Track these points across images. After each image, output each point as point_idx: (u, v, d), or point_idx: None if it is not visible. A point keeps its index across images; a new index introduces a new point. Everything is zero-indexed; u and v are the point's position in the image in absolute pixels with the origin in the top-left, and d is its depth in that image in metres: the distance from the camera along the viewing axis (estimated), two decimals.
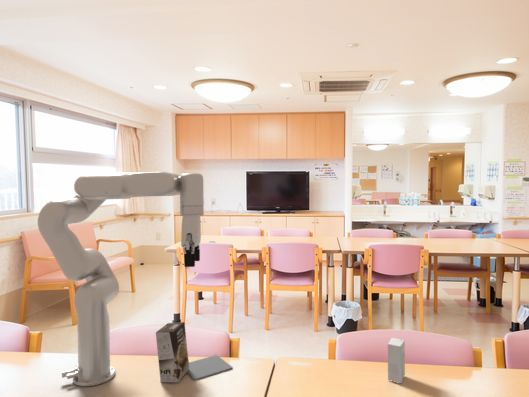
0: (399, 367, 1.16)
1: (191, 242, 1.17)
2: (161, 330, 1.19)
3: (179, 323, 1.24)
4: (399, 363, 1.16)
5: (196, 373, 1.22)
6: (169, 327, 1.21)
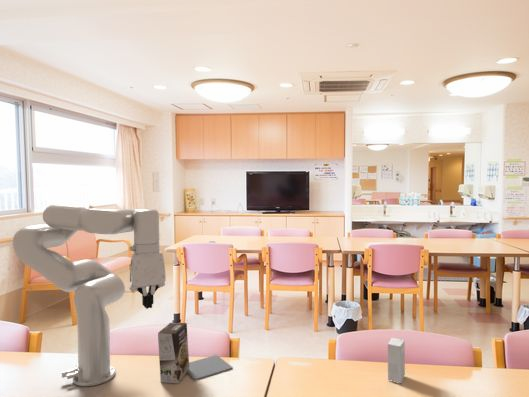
0: (399, 367, 1.16)
1: None
2: (163, 331, 1.18)
3: (182, 323, 1.24)
4: (399, 363, 1.16)
5: (196, 373, 1.22)
6: (171, 328, 1.20)
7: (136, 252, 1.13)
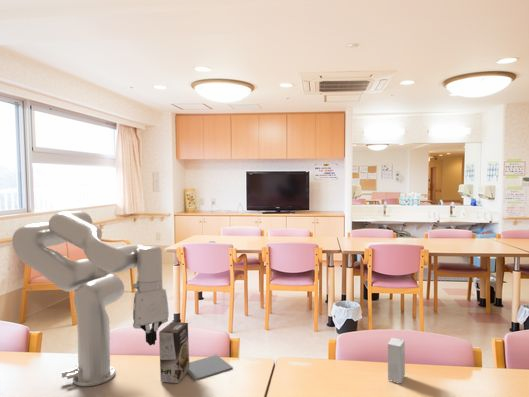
0: (399, 367, 1.16)
1: None
2: (164, 330, 1.18)
3: (183, 323, 1.24)
4: (399, 363, 1.16)
5: (196, 373, 1.22)
6: (172, 327, 1.20)
7: (139, 290, 1.13)
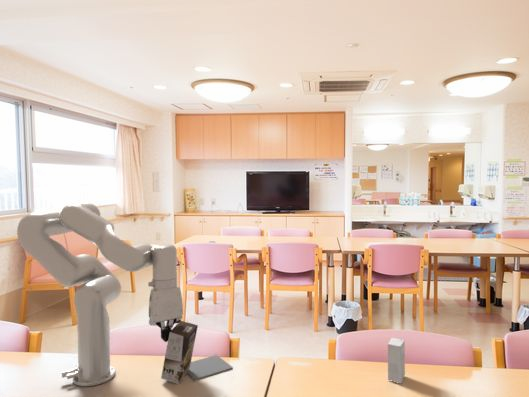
0: (399, 367, 1.16)
1: None
2: (175, 330, 1.17)
3: (193, 325, 1.22)
4: (399, 363, 1.16)
5: (196, 373, 1.22)
6: (183, 329, 1.19)
7: (155, 288, 1.16)
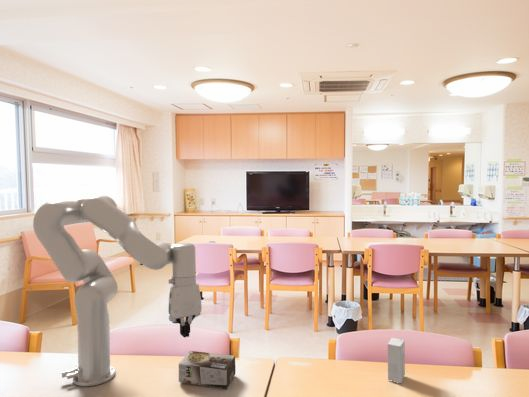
0: (399, 367, 1.16)
1: None
2: (228, 371, 1.14)
3: (234, 371, 1.21)
4: (399, 363, 1.16)
5: None
6: (231, 373, 1.16)
7: (175, 285, 1.20)
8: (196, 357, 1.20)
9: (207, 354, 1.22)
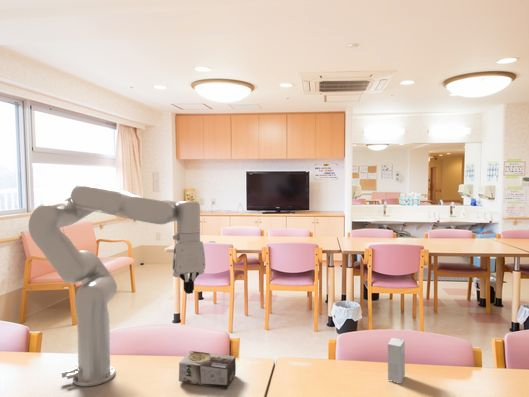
0: (399, 367, 1.16)
1: None
2: (228, 371, 1.14)
3: (234, 372, 1.21)
4: (399, 363, 1.16)
5: None
6: (231, 373, 1.17)
7: (179, 241, 1.20)
8: (196, 357, 1.20)
9: (208, 354, 1.22)
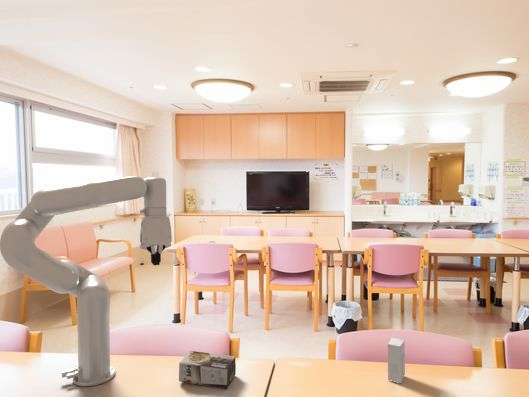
0: (399, 367, 1.16)
1: None
2: (228, 371, 1.14)
3: (234, 372, 1.21)
4: (399, 363, 1.16)
5: None
6: (231, 373, 1.17)
7: (146, 215, 1.27)
8: (196, 357, 1.20)
9: (208, 354, 1.22)
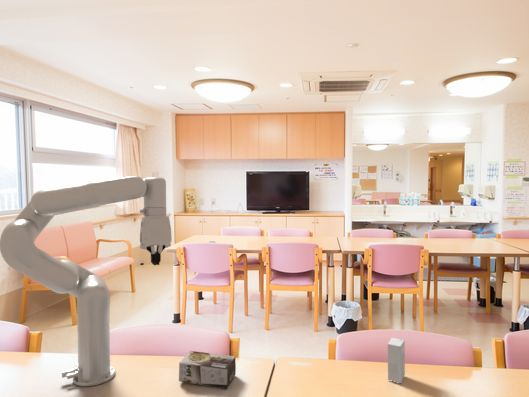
0: (399, 367, 1.16)
1: None
2: (228, 371, 1.14)
3: (234, 372, 1.21)
4: (399, 363, 1.16)
5: None
6: (231, 373, 1.17)
7: (146, 214, 1.27)
8: (196, 357, 1.20)
9: (208, 354, 1.22)
